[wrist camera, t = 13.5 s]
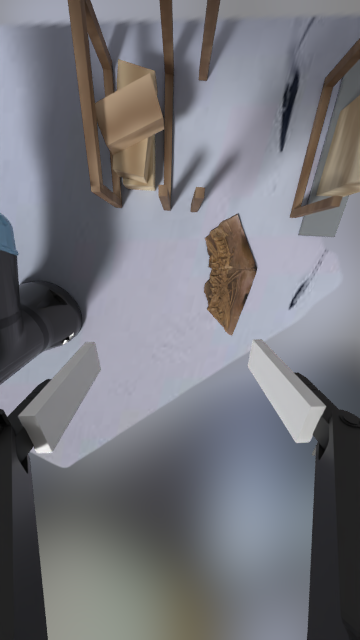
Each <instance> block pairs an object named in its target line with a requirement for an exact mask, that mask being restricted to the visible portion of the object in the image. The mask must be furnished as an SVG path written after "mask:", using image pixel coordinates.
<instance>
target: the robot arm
mask: <svg viewBox="0 0 360 640" xmlns="http://www.w3.org/2000/svg"><path fill="white" fill-rule="evenodd" d="M17 255H18V251H17V250H16V246H15V240H14V233H13V228H12V225H11V223H10V222H9V220H8V219H7V218H6V217H5V216H4V215H2V214H1V213H0V384H2V383H3V382H4V381H6V380H7V379H8V378H9V377H11V376H12V375H13V374H15V373H16V372H17V371H18V370H20V369H21V368H22V367H24V366H25V365H26V364H27V363H29V362H30V361H31V360H32V359H34V358H35V357H36V356H38V355H39V354H40V353H41V352H43V351H46V350H49V349H52V348H55V347H58V346H61V345H64V344H66V343H67V342H69V341H70V340H71V339H73V338H74V337H75V336H76V335H77V334H78V333H79V331H80V329H81V325H82V315H81V311H80V309H79V307H78V305H77V303H76V301H75V300H74V299H73V298H72V297H71V295H69V294H68V293H67V292H66V291H65V290H63V289H62V288H60V287H58V286H56V285H54V284H52V283H48V282H43V281H33V282H28V283H24V284H21V285H19V281H18V265H17ZM248 367H249V369H250V371H251V372H252V374H253V375H254V377H255V379H256V380H257V382H258V383H259V385H260V387H261V388H262V390H263V391H264V393H265V394H266V396H267V397H268V399H269V401H270V402H271V404H272V405H273V407H274V409H275V410H276V412H277V413H278V415H279V416H280V418H281V420H282V421H283V423H284V425H285V426H286V428H287V429H288V431H289V432H290V434H291V436H292V437H293V439H294V440H295V442H296V443H304V442H310V440H311V438H312V436H314V437H315V438H316V440H317V441H318V443H317V445H316V447H315V449H314V451H313V453H312V455H313V456H315V454H316V461H315V483H314V505H313V527H312V549H311V570H310V592H309V593H310V594H309V614H308V633H307V640H360V418H358V417H357V416H355V415H354V414H352V413H350V412H347V411H344V410H339V409H338V408H337V407H336V406H335V405H334V404H333V403H332V402H331V401H330V400H329V399H328V398H327V397H326V396H325V395H324V394H323V393H321V391H320V390H318V389H317V388H316V387H315V386H314V385H313V384H312V383H311V382H310V381H309V380H308V379H307V378H306V377H304V376H303V375H301V374H299V373H294V372H292V370H291V369H290V368H289V367H288V366H287V365H286V364H285V363H284V362H283V361H282V360H281V359H280V358H279V357H278V356H277V355H276V354H275V353H274V352H273V351H272V350H271V349H270V348H269V347H268V345H267V344H266V343H265V342H264V341H263V340H262V339H260V340H253V341H252V346H251V352H250V357H249V362H248ZM100 370H101V368H100V363H99V358H98V354H97V349H96V345H95V342H85V343H84V345H83V346H82V347H81V348H80V349H79V350H78V351H77V352H76V353H75V354H74V355H73V357H72V358H71V359H70V360H69V361H68V362H67V363H66V364H65V365H64V366H63V367H62V369H61V370H60V371H59V372H58V373H57V374H56V375H55V376H54V377H53V378H52V379H47V380H45V381H44V382H42V383H41V384H39V385H38V386H37V387H36V388H35V389H34V390H33V391H32V393H30V394H29V395H28V396H27V397H26V399H24V400H23V401H22V402H21V403H20V404H19V405H18V406H17V408H16V409H15V410H14V411H13V412H12V413H11V414H10V415H9V416H8V417H7V416H6V414H5V412H4V410H2V409H0V640H48V636H47V626H46V616H45V607H44V595H43V586H42V576H41V566H40V556H39V545H38V535H37V525H36V515H35V505H34V494H33V485H32V474H31V465H30V457H29V455H28V453H29V452H30V450H31V449H32V448H33V446H34V448H35V450H36V452H37V453H52V452H53V450H54V449H55V447H56V445H57V444H58V442H59V440H60V439H61V437H62V435H63V433H64V432H65V430H66V428H67V427H68V425H69V423H70V421H71V420H72V418H73V416H74V415H75V413H76V411H77V410H78V408H79V406H80V404H81V403H82V401H83V399H84V398H85V396H86V394H87V392H88V391H89V389H90V387H91V386H92V384H93V382H94V381H95V379H96V377H97V375H98V374H99V372H100Z"/></svg>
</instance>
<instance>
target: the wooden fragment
mask: <svg viewBox="0 0 360 640" xmlns="http://www.w3.org/2000/svg"><path fill="white" fill-rule="evenodd" d="M205 240H206V244H207V247H208V248H207V251H208V254H209V256H210V257H209V258H210V259H209V267H210V268H212V270H211V273H210V279H209V280H208V281H207V282H206V283H205V287H204V293H205V294H206V297H207V300H208V308H207V310H208V311H209V312H210V313H211V314H212V315H213V317H214V318H215V319H217V320H218V322H219V323H220V324H221V325H222V326H223V327H224V330H225V331H226V332H227V333H228V334H229V335H232V334H233V332H234V329H235V327H236V324H237V322H238V319H239V316H240V314H241V311H242V309H243V306H244V304H245V301H246V299H247V297H248V294H249V291H250V288H251V285H252V282H253V279H254V277H255V274H256V271H253V270H257V267H256V265H255V261H254V259H253V256H252V253H251V251H250V248H249V245H248V242H247V239H246V237H245V234H244V231H243V229H242V226H241V223H240V220H239V217H238V215H237V214H236V215H234V216H232V217H231V218H229V219H227V220H224V221H222V222H221V223H220V224H219V226H218V227H217V228H215V229H213V230H211V232H210V235H208V236H207V237H206V238H205Z"/></svg>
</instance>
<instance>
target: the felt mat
mask: <svg viewBox="0 0 360 640" xmlns="http://www.w3.org/2000/svg"><path fill="white" fill-rule="evenodd" d="M359 95H360V59H359V61H358V62H357V63H356V64H355V65H354V66H353V67H352V68H351V69H350V70H349V71H348V72H347V73H346V74H345V75H344V76H343V78H342V81H341V85H340V88H339V92H338V96H337V99H336V103H335V106H334V110H333V113H332V117H331V120H330V124H329V128H328V131H327V135H326V138H325V142H324V145H323V149H322V153H321V156H320V160H319V163H318V167H317V170H316V174H315V177H314V181H313V185H312V188H311V192H310V195H309V199H308V202H307V205H308V204H311V203H314V202H317V201H320V200H323V199H326V198H329V197H332V196H316V194H317V191H318V187H319V184H320V180H321V177H322V173H323V170H324V166H325V163H326V159H327V156H328V153H329V149H330V146H331V142H332V139H333V135H334V132H335V128H336V125H337V121H338V118H339V114H340V111H341V110H343V109H344V108H345V107H346V106H347V105H349V104H350V103H351V102H352V101H353V100H354V99H356V98H357V97H358V96H359ZM348 197H349V195H348V196H345V197H342V200H341V203H340V206H339V207H336V208H332V209H328V210H324V211H320V212H317V213H313V214H309V215H305V216H304V217H303V220H302V224H301V227H300V231H299V234H298V235H304V236H322V237H335V234H336V231H337V228H338V225H339V223H340V220H341V217H342V214H343V211H344V209H345V206H346V203H347V200H348Z"/></svg>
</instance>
